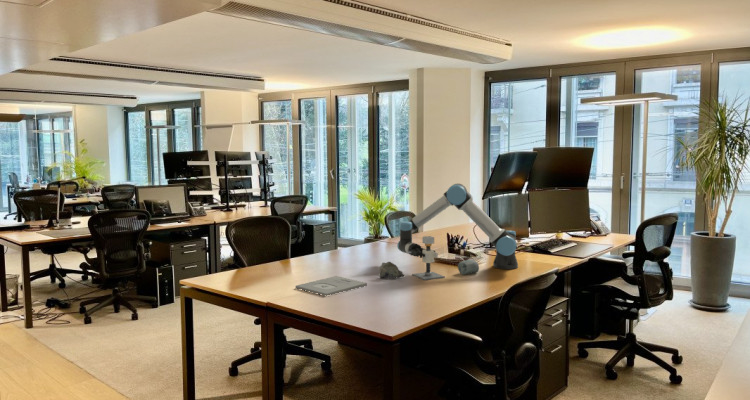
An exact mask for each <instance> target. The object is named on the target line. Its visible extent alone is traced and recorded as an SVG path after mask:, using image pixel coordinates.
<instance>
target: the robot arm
mask: <svg viewBox="0 0 750 400" xmlns="http://www.w3.org/2000/svg"><path fill="white" fill-rule="evenodd" d="M450 206H452V207H453V206H454V207H456V209H457V210H458V211H463V212H464V213H465V214H466V216H468V217H469V219H470V220H472V221H473V223H475V224H476V226H477V227H478V228H479V229H480V230H481V231H482V232H483V233H484V234H485V235H486V236H487V237H488V239H490V240H489V241H490V244H491V245H492V246H493V247H494V249H496V250H495V251H496V253H495V254H496V255H495V257H494V260H493V262H492V263H493V267H494V268H496V269H500V270H514V269H518V267H519V263H518V260H517V256H516V250H517V247H518V246H517V242H516V236H517V233H516V230H506V229H505V228H501V227H499V226H498V224H496V223H495V221H494V220H492V218H491V217H489V215H488V214H487V213H486V212H485V211H484V210H483V209H482V208H481V206H479V205H478V204H477V203H476V202H475V201H474V198H473V196H472V194H471V193H470V192H469V191H468V189H467V188H466V186H465V185H463V184H462V183H454V184H452V185H451V186H449V188H447V190H446V191H445V192H444V193H443V195H442V196H441V197H440V198H438V199H437V200H436V201H434V202H433V203H432V204H430V205H429V206H427V207H426V208H424V209H423V210H422V211H420V212H419V213H418V214H417V215H415V216H414V217H412V218H411V219H409V220H408V221H401V222H400V223H399V241H398V242H397V246H396V247H397V249H398V250H399V251H400V252H402V253H404V254H408V255H410V256H413V257H416V258H418V257H419V258H420V259H422V257H424V258H427V259H429V254H428V253H425V252H422V250H425V249H426V248H423V247H422V246H421V245H420V244H419V243H415V242H413V233H415V232H416V231H417V230H418V229H419V228H422V227H423V226H424V225H425V224H426V223H428V222H429V221H431V220H432V219H434V218H435V217H436V216H437V215H439V214H441V213H442V212H443V211H445V210H446V209H448V208H449V207H450ZM433 250H434V258H439V252H436V250H435V249H433Z"/></svg>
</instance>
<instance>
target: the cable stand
mask: <svg viewBox="0 0 750 400" xmlns="http://www.w3.org/2000/svg"><path fill="white" fill-rule="evenodd" d="M421 241H422V244H424V247H425V249H426V251H430V249H431V247H432V246H433V244H435V237H434V236H432V235H429V236H428V235H427V236H422V240H421ZM411 276H412V277H415V278H416V279H417V278H418V279H420V280H422V281H429V280H437V279H445V278H446V277H445V276H444V275H442V274H441V273H437V272H435V271H431V263H425V271H424V272H418V273H412V274H411Z"/></svg>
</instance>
